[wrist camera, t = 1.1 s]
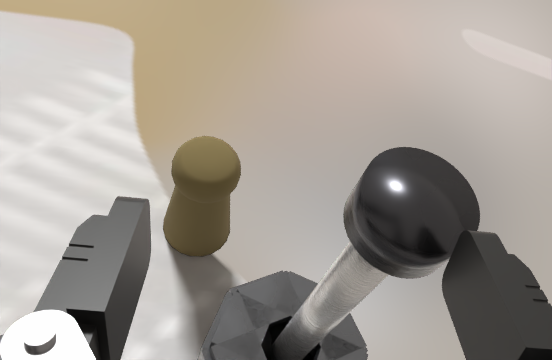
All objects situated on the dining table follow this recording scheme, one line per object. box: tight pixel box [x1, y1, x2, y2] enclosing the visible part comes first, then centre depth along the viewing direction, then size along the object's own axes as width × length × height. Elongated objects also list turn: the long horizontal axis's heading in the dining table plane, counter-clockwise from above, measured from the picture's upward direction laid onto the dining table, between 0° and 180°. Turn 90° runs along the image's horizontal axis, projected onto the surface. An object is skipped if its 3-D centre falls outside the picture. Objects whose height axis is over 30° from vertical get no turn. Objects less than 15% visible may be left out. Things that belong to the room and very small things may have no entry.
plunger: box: [261, 147, 480, 360], centre depth 23 cm, size 6×6×21 cm
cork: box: [163, 136, 241, 256], centre depth 41 cm, size 6×6×11 cm
